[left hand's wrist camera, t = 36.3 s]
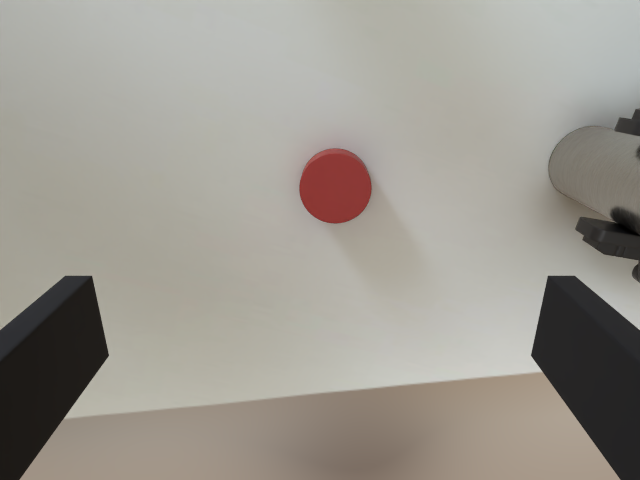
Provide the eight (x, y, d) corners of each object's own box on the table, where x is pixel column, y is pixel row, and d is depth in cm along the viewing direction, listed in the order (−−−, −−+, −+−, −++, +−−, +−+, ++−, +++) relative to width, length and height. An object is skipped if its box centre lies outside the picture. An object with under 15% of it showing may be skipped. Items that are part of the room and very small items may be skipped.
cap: (299, 149, 29) (297, 154, 28) (369, 147, 29) (371, 152, 27) (302, 215, 31) (301, 224, 29) (369, 213, 31) (371, 222, 29)
